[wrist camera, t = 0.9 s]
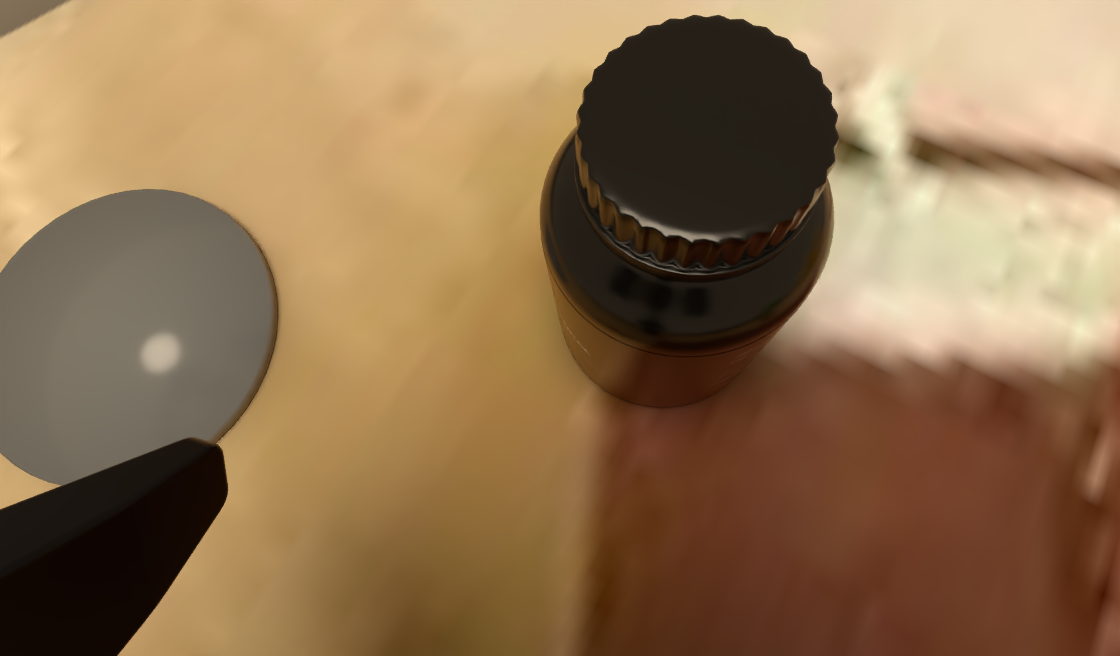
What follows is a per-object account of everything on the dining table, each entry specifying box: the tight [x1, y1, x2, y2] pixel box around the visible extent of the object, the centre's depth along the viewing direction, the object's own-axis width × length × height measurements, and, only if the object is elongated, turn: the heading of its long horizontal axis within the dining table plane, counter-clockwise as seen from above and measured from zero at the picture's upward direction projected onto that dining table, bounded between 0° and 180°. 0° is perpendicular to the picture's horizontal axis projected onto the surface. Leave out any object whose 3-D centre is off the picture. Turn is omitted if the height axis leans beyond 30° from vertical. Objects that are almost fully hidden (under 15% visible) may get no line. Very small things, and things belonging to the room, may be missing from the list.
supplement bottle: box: [540, 15, 839, 407], centre depth 18 cm, size 7×7×12 cm
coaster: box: [0, 189, 278, 485], centre depth 25 cm, size 11×11×1 cm
